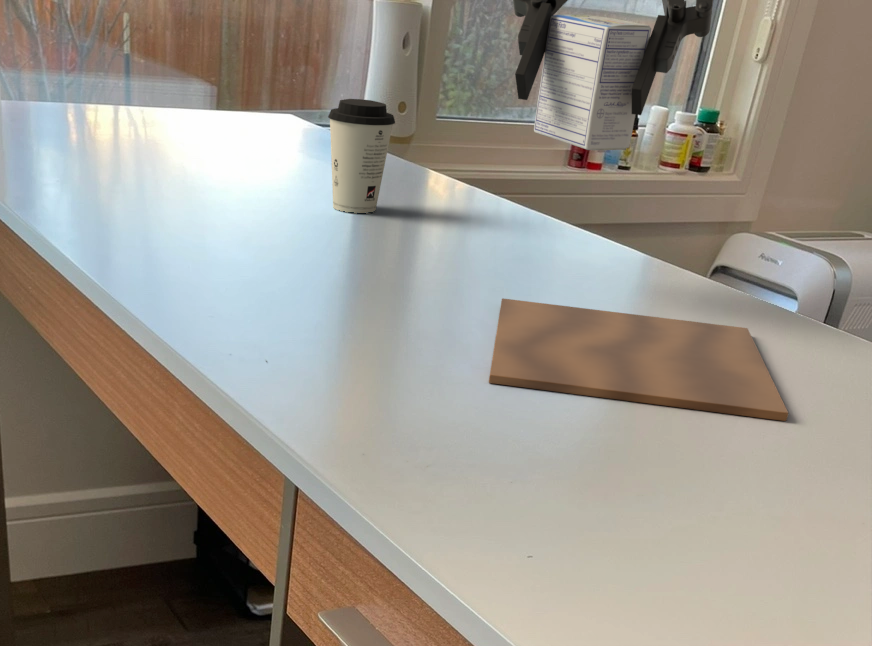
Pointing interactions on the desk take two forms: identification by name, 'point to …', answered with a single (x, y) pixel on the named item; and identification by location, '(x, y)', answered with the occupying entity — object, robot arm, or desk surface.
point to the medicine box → (590, 80)
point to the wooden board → (633, 359)
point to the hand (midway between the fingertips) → (578, 94)
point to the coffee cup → (358, 153)
